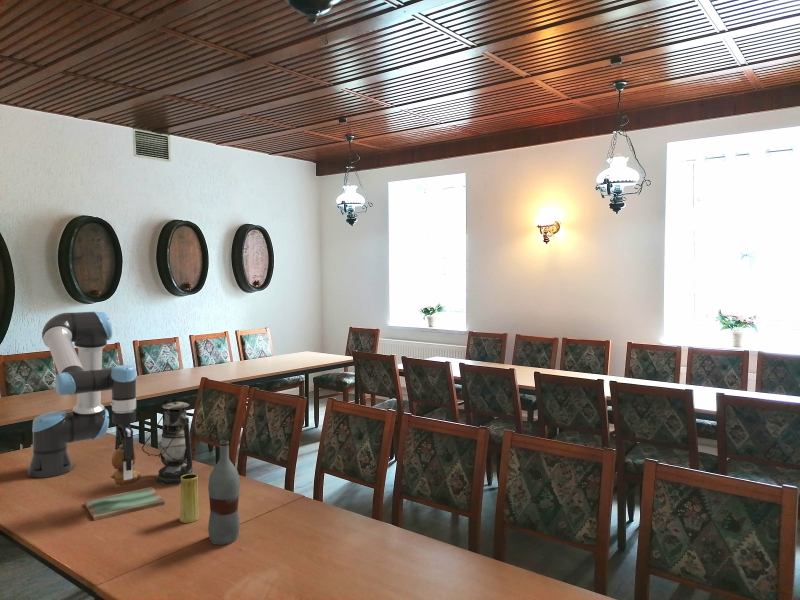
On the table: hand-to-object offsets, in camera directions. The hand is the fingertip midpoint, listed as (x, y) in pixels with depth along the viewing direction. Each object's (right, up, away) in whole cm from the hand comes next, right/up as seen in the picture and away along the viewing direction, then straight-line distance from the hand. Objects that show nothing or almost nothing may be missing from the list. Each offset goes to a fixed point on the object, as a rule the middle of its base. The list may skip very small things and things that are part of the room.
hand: (124, 475), depth 198 cm
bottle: (+42, -12, -23) cm, 49 cm away
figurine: (0, -3, 0) cm, 3 cm away
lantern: (+6, -10, +25) cm, 27 cm away
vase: (+26, -12, -10) cm, 30 cm away
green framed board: (0, -10, +1) cm, 10 cm away
